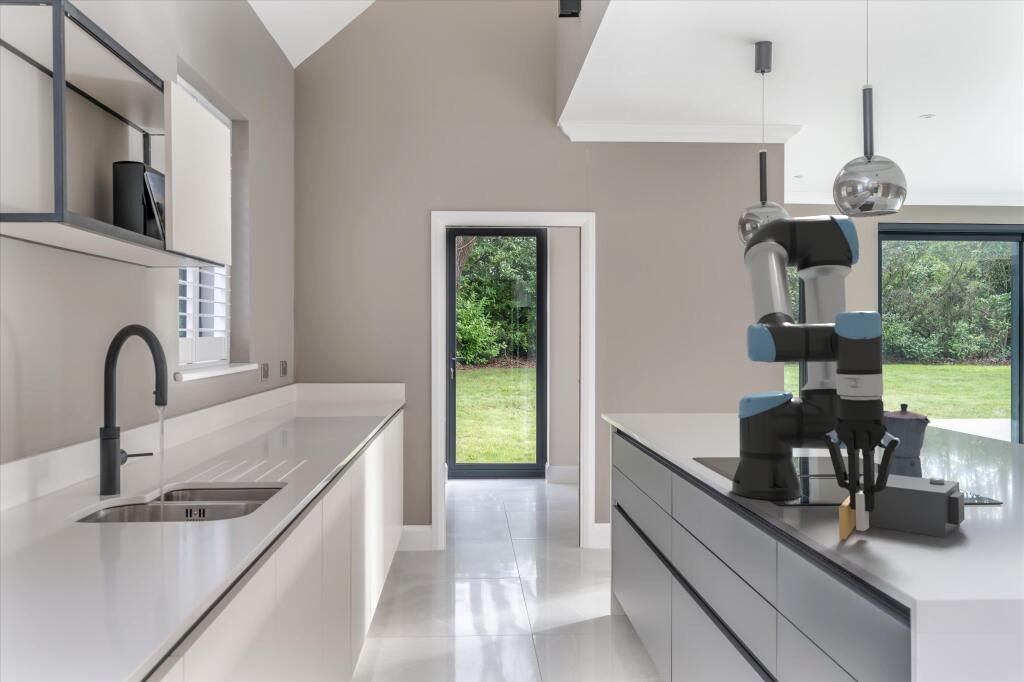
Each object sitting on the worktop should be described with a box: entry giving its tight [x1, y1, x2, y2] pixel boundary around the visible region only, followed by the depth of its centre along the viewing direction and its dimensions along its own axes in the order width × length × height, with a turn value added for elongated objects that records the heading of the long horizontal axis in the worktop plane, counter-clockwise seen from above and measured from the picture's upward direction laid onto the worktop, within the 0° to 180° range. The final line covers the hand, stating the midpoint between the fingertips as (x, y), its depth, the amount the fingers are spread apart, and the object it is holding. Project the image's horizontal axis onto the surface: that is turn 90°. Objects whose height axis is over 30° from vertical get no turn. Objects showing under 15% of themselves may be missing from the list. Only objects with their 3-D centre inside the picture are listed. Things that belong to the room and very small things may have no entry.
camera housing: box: [859, 472, 965, 539], centre depth 137 cm, size 18×12×9 cm
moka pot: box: [876, 403, 931, 478], centre depth 168 cm, size 10×15×20 cm, turn 28°
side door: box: [838, 494, 856, 540], centre depth 132 cm, size 14×1×6 cm, turn 146°
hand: (862, 528), depth 128 cm, fingers closed
